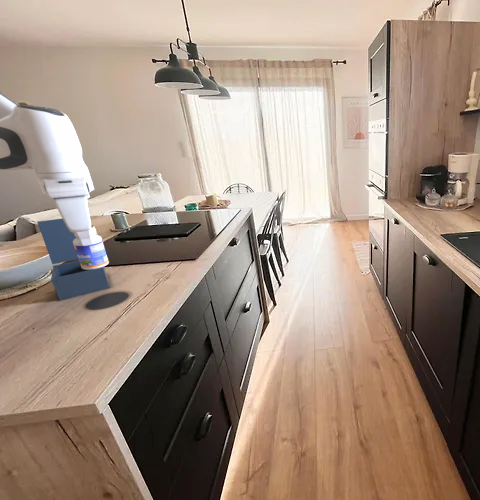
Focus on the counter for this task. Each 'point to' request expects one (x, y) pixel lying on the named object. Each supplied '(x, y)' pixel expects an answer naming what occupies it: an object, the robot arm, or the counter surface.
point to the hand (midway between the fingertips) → (87, 241)
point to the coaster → (107, 300)
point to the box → (77, 280)
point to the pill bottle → (91, 252)
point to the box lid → (58, 240)
